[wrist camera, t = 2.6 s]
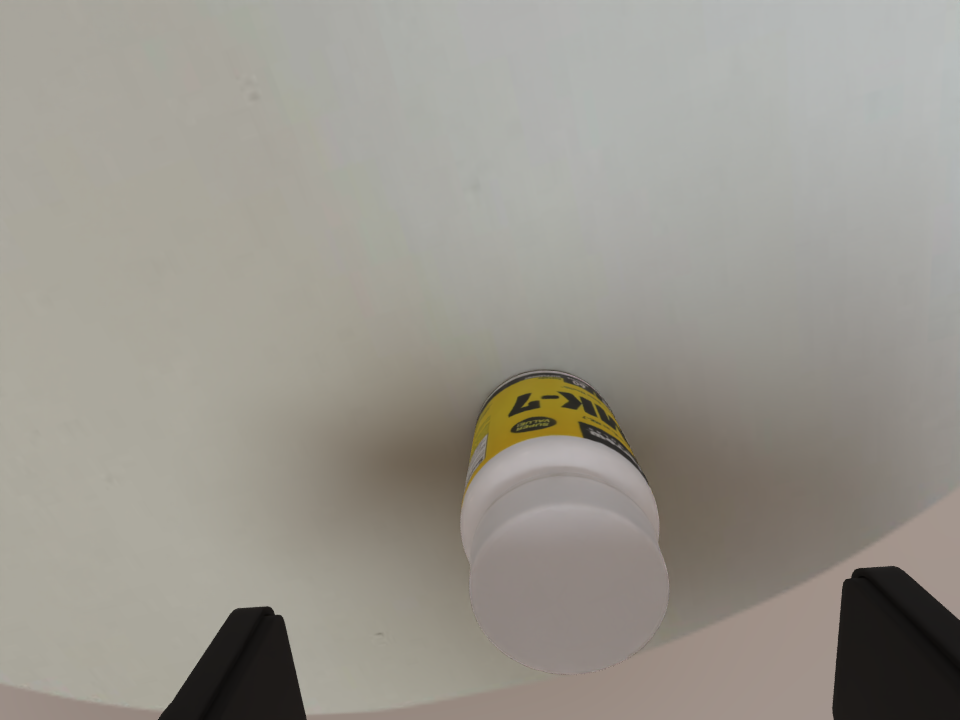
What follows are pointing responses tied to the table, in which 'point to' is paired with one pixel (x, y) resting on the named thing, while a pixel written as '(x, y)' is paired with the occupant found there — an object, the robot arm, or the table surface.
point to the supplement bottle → (560, 529)
